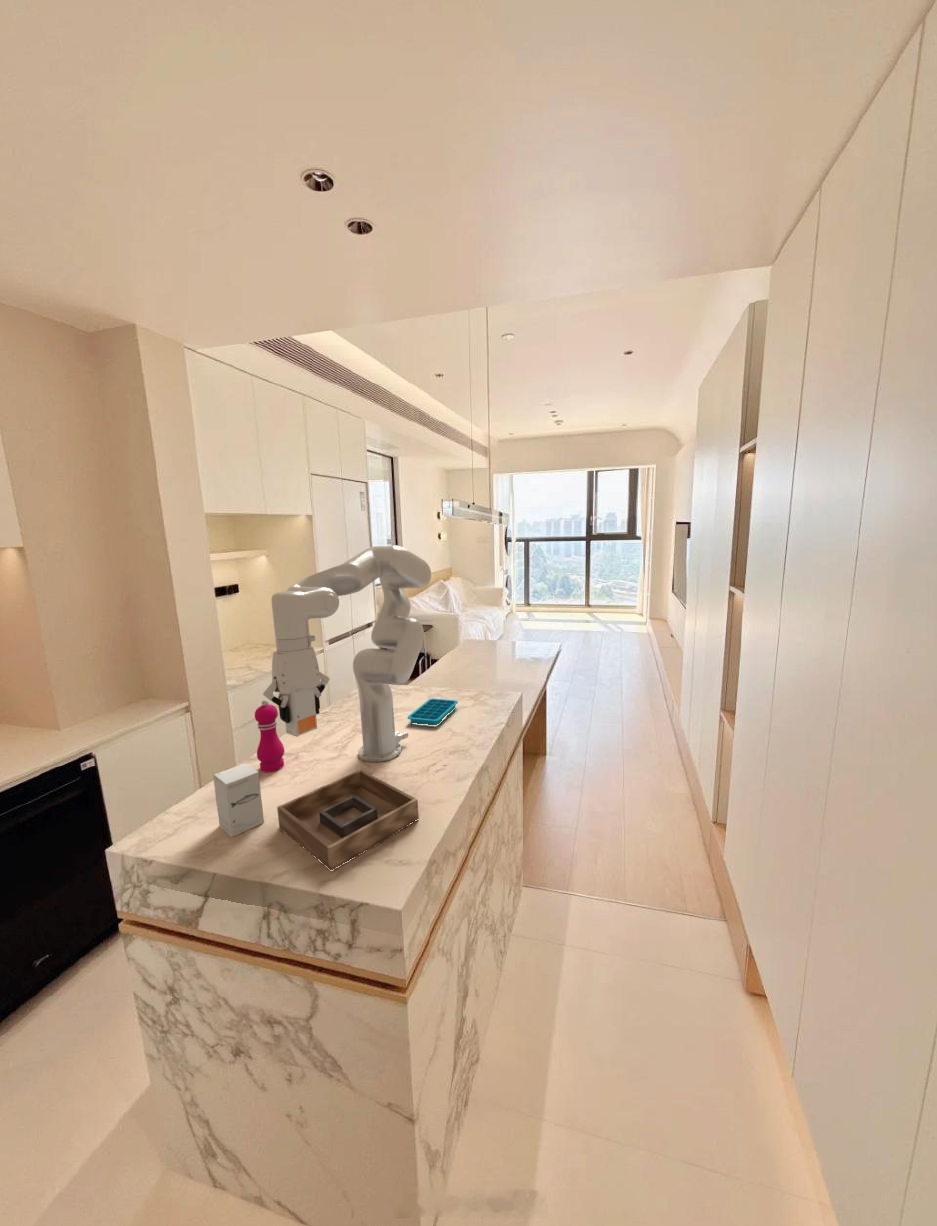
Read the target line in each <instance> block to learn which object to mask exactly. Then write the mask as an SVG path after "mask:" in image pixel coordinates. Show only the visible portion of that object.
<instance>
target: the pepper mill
mask: <svg viewBox="0 0 937 1226" xmlns="http://www.w3.org/2000/svg"><path fill="white" fill-rule="evenodd" d="M278 711H279V710H278V708H277V707H276V706H275V705H274V704H270V703H269V700H268V699H263V700H261V705H260V706H258V707H257V709H255V712H254V719H255V721H256V722H257V729H258V730H259V732H260V739H259V743H258V746H257V750H256V758H257V760H259V765H260V766H259V767H260V768H259V769H260V771H261V772H262V773H263V772H264V773H274V772H276V771H278V770H281V769H282V768H283V767H284V765H285V759H284V756H285V746H284V744H283V742H282V741H281V739H280V737H279V736H278V732H277V726H278V721H277V717H278V715H279V712H278Z"/></svg>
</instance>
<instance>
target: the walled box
mask: <svg viewBox="0 0 937 1226" xmlns="http://www.w3.org/2000/svg"><path fill="white" fill-rule="evenodd" d="M418 801H419V800H418V799H417V798H416V797H414V796H412V795H410V794H408V793H406V792H405V791H403V790H401V789H399V788H397V787H395V786H393V785H391V784H389V783H387V782H385V781H384V780H382V779H380V778H378V777H377V776H374V775H372V774H370V773H368V772H367V771H365V770H364V769H360V770H357V771H355V772H352V773H350V774H348V775H345V776H343V777H341V778H339V779H337V780H334V781H333V782H330V783H328V784H326V785H323V786H322V787H319V788H317V789H314V790H311V791H310V792H308V793H306V794H303V795H301V796H299V797H296V798H295V799H292V800H290V801H287V802H286V803H282V804H281V805H279V806H276V809H277V816H278V817H277V818H278V825H279V826H278V827H279V829H280V830H281V831H283V832H284V833H285V834H286V835H287V836H289V837H290V838H291V839H292V840H293V841H295V842H296V843H297V844H298V843H299V844H300V845H301V846H302V847H301V846H300V845H299V844H298V845H299V846H300V847H301V848H303V847H304V848H305V849H306V850H307V851H308V852H307V851H306V850H305V849H304V848H303V849H304V850H305V851H306V852H307V853H309V852H310V853H311V854H312V855H313V856H315V857H316V858H317V859H319V860H320V861H321V862H322V863H323V864H324V865H326V866H327V867H328V868H329V869H330V870H333V869H335V868H336V867H338V866H340V865H342V864H343V863H345V862H347V861H349V860H350V859H352V858H354V857H356V856H358V855H359V854H361V853H363V852H364V851H366V850H368V849H370V848H371V849H373V848H374V847H373V846H375V845H376V844H378V843H380V844H381V843H382V842H383V843H384V842H385V841H386V840H388V839H390V838H391V837H393V836H394V835H393V834H395V833H396V832H398V831H399V830H401V829H402V828H404V827H406V826H407V825H409V824H410V823H412V822H414V821H415V820H417V819H419V820H420V818H419V803H418ZM406 828H407V827H406ZM401 831H402V830H401ZM398 833H399V832H398ZM396 834H397V833H396ZM396 834H395V835H396ZM392 835H393V836H392ZM390 836H391V837H390ZM389 837H390V838H389ZM387 838H388V839H387ZM385 839H386V840H385ZM384 840H385V841H384ZM378 845H379V844H378ZM376 846H377V845H376ZM376 846H375V847H376ZM372 847H373V848H372ZM371 849H370V850H371ZM368 851H369V850H368ZM366 852H367V851H366ZM310 853H309V854H310ZM311 854H310V855H311ZM363 854H364V853H363ZM312 855H311V856H312ZM361 855H362V854H361ZM313 856H312V857H313ZM358 857H359V856H358ZM316 858H315V859H316ZM356 858H357V857H356ZM317 859H316V860H317ZM323 864H322V865H323ZM324 865H323V866H324ZM330 870H329V871H330Z"/></svg>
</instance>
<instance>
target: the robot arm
mask: <svg viewBox="0 0 937 1226" xmlns="http://www.w3.org/2000/svg"><path fill="white" fill-rule="evenodd" d="M378 578H379V583H380V584H381V585H380V586H381V588H382V593H383V603H382V606H381V609H380V611H379V613H378V615H377V618H376V620H375V623H374V626H373V628H372V630H371V635H370V636H371V637H370V638H371V639H370V640H371V641H372V643H373V645H375V646H376V647H378V648H372V647H371V648H365V649H362V650H360V651H358V652H357V653H356V655H355V656H354V657H353V662H352V669H353V675H354V678H355V681H356V684H357V690H358V698H359V699H358V700H359V709H360V710H359V711H360V723H361V724H360V725H361V734H362V746H361V747H360V748H359V749H358V755H357V756H358V758H359V759H361V760H363V761H364V762H369V763H381V762H386V761H389V760H392V759H394V758H396V757H398V756H399V755H400V754H401V752H402V745H401V744H400V742H401V741H402V740H404V739H407V738H409V732H408V731H404V732H401V733H400V732H399V731H396V728H395V727H396V726H395V714H394V713H395V712H394V701H393V700H394V698H393V693H392V689H391V686H390V685H395V686H401V685H404V684H406V683H407V681H409V680H410V677H411V675H412V674H413V671H414V668H415V665H416V663H417V660H418V657H419V655H420V651H421V649H422V646H423V643H424V637H425V635H424V634H425V632H424V631H425V630H424V627H423V624H422V623H421V621H420V620H418V619H416V618H412V617H409V615H410V613H411V601H410V599H409V597H408V595H407V593H406V591H405V589H423V588H425V587H427V586H428V584H430V581H431V579H432V570H431V567H430V565H429V564H428V563H427V561H425V560H424V559H423V558H422V557H420V556H418V555H417V554H415V553H413V552H411V551H410V550H409V549H406V548H405V547H402V546H400V545H376V546H371V547H368V548H366V549H364V550H362V551H361V552H359V553H357V554H356V555H355V556H353V557H351V558H350V559H348V560H346V561H345V562H343V563H342V564H339V565H336V566H333V567H332V566H331V568H327V569H325V570H322V571H319V572H317V573H314V574H311V575H308V576H307V577H303V579H301V580H299V581H297V582H296V583H295V584H293V585H291V586H289V587H288V589H287V590H286V591H279V592H275V593H274V594H272V596H271V600H270V601H271V609H272V619H273V629H274V630H273V631H274V636H275V637H274V638H275V645H276V647H275V648H276V651H273V652H272V660H271V683H270V685H269V686H267V688H266V689H265V690H264V691H263V696H264V697H265V698H266V699H267V700H268V701H270V702H273V703H274V704H276V706H278V711H279V712H278V714H279V719H280V720H281V721H283V722H284V723H285V722H286V723H290V713H289V707H288V706H287V701H288V698H289V695H290V694H291V693H292V688H293V687H299V686H300V687H301V688H302V689H304V690H307V689H313V688H314V695H315V707H316V715H319V714H320V709H321V703H320V702H321V701H320V698H321V696H322V693H323V692H324V690H325V688H326V686H327V684H328V683H329V681H330V677H329V676H327V675H325V674H324V673H322V672H321V671H320V667H319V661H318V658H317V655H316V652H315V648H314V647H313V646H312V643H313V642H315V641H316V636H315V635H311V633H310V625H309V620H310V619H311V620H312V619H313V620H314V619H325V618H329V617H330V616H333V615H334V614H335V613H336V612H337V610H338V609H339V606H340V599H339V597H342V596H343V597H344V596H349V595H351V594H355V593H358V592H360V591H362V590H363V589H365V588H366V587H367V586H369V585H371V583H373V582H374V581H376V580H377V579H378ZM274 693H278V695H277V697H276V696H275V695H274ZM399 753H400V754H399ZM397 755H398V756H397Z"/></svg>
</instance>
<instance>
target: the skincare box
mask: <svg viewBox="0 0 937 1226" xmlns="http://www.w3.org/2000/svg"><path fill="white" fill-rule="evenodd" d="M287 706H288V707H289V713H290V723H286V722H284V723H285V733H286V734H287V735H290V736H293V737H295V738H297V737H300V736H301V735H305V734H306V733H309V732H312V731H314V730H317V729H318V723H317V722H318V721H317V720H318V719H317V714H316V707H315V695H314V688H313V689H307V690H304V689H302V688H301V687H300V686H299V687H293V688H292V693H291V694H290V695H289V698H288V701H287Z"/></svg>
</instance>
